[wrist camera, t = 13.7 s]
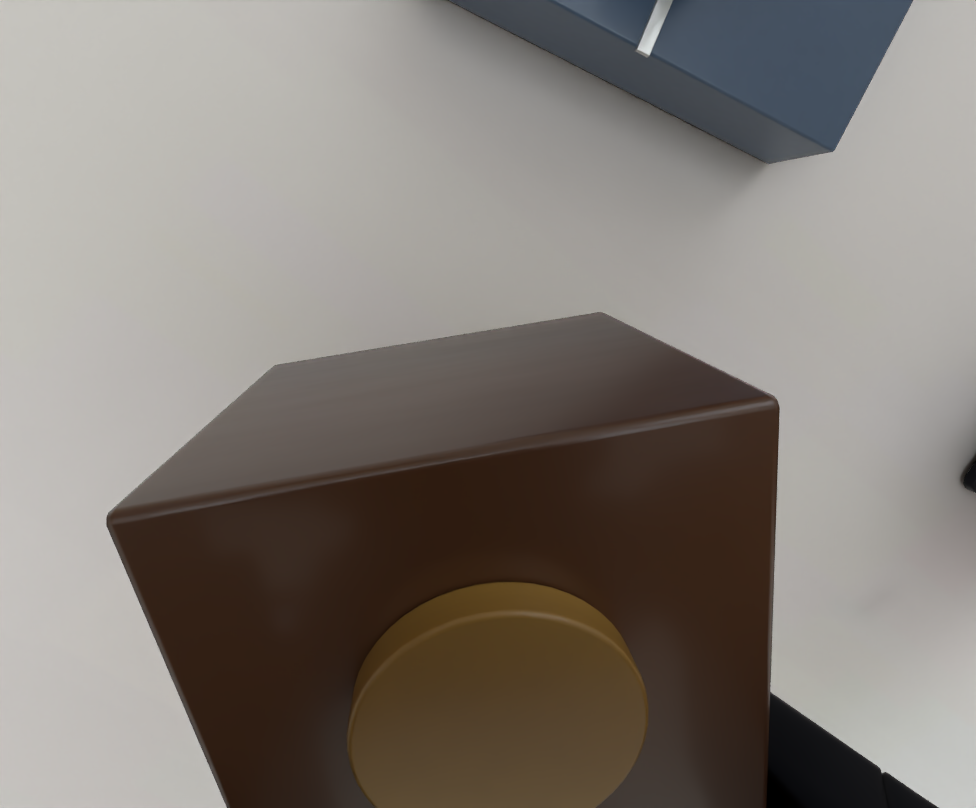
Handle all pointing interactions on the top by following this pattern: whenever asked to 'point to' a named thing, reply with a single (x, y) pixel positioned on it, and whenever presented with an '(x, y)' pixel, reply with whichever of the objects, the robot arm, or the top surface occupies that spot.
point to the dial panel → (723, 59)
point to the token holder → (473, 576)
